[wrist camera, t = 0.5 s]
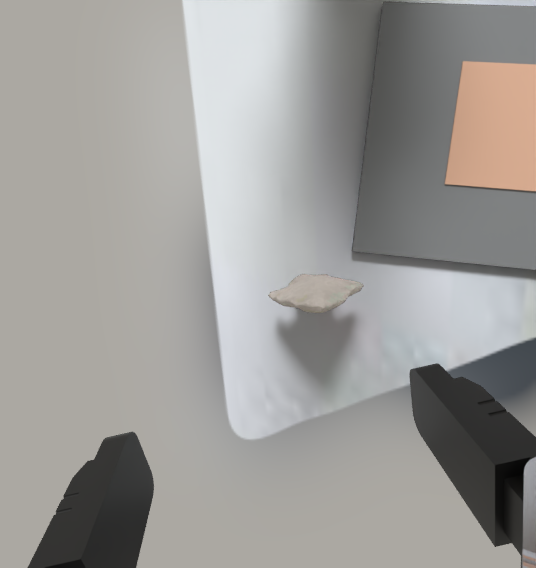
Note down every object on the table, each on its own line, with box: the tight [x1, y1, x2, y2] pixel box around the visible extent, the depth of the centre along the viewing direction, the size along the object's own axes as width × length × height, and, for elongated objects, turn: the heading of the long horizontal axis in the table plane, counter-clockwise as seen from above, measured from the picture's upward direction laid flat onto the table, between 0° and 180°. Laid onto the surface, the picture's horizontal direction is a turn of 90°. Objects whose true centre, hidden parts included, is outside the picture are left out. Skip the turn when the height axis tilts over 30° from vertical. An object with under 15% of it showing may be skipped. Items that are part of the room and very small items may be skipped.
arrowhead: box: [268, 274, 363, 313], centre depth 30 cm, size 8×3×10 cm, turn 97°
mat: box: [352, 2, 536, 270], centre depth 32 cm, size 21×18×1 cm
